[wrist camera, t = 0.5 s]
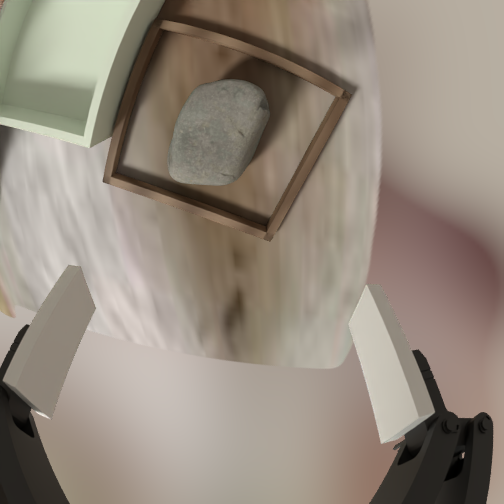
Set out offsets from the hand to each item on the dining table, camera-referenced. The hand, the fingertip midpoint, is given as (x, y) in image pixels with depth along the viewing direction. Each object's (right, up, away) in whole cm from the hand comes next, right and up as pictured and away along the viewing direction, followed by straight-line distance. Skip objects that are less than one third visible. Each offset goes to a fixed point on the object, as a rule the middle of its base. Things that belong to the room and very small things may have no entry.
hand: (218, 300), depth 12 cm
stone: (-2, +16, +15) cm, 22 cm away
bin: (-20, +27, +7) cm, 35 cm away
